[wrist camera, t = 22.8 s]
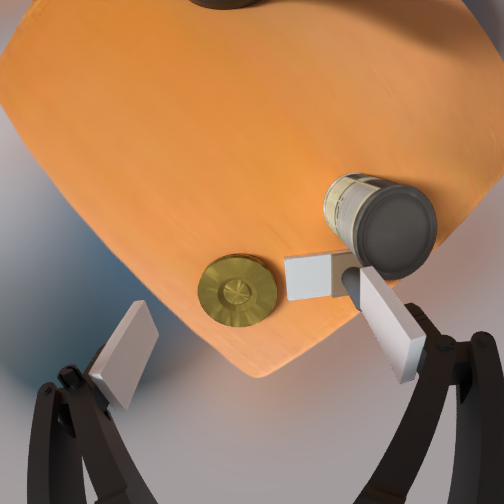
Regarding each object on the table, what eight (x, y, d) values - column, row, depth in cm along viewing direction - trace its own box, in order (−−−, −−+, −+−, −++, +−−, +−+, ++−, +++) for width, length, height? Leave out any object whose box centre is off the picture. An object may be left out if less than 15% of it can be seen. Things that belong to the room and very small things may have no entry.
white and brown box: (283, 257, 42) (284, 261, 40) (371, 246, 41) (375, 250, 39) (287, 297, 44) (288, 303, 42) (369, 286, 43) (373, 291, 42)
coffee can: (372, 161, 36) (424, 170, 23) (393, 223, 39) (444, 255, 26) (311, 189, 38) (340, 210, 25) (337, 250, 41) (370, 296, 28)
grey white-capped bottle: (341, 268, 40) (363, 304, 31) (362, 265, 40) (388, 300, 31) (340, 287, 41) (360, 326, 32) (361, 285, 41) (384, 322, 32)
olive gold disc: (259, 240, 41) (259, 245, 39) (286, 305, 45) (287, 312, 43) (187, 268, 43) (184, 274, 41) (219, 327, 47) (218, 335, 45)
